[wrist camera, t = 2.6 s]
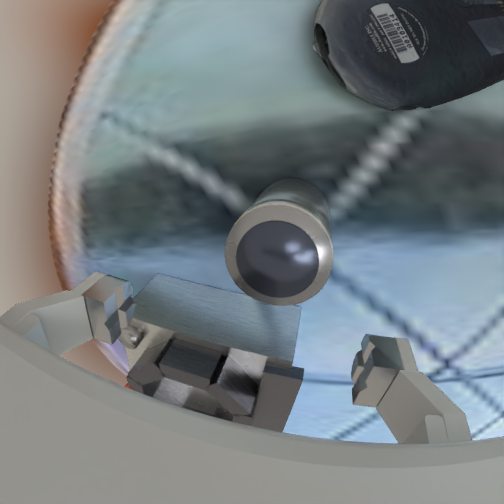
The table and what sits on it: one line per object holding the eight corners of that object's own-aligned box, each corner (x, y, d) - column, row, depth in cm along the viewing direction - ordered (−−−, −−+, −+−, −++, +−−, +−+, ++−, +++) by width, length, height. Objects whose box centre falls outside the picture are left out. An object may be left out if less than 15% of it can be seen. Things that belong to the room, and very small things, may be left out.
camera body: (311, 309, 23) (300, 398, 15) (287, 390, 27) (270, 467, 19) (157, 273, 25) (97, 336, 17) (163, 356, 29) (123, 419, 21)
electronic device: (454, -29, 10) (286, 6, 14) (493, -46, 6) (294, -26, 9) (501, 75, 14) (352, 129, 18) (548, 79, 9) (384, 141, 13)
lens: (337, 185, 19) (345, 220, 12) (322, 256, 21) (319, 318, 15) (260, 171, 19) (227, 197, 13) (250, 241, 22) (218, 296, 15)
